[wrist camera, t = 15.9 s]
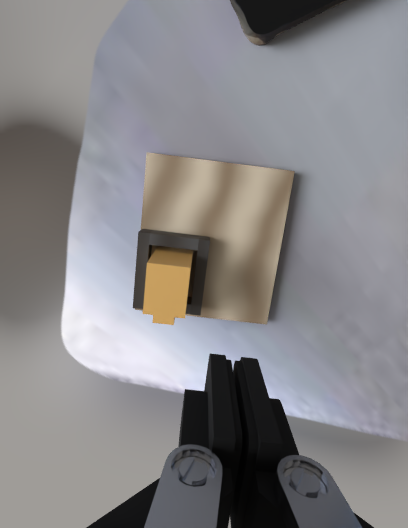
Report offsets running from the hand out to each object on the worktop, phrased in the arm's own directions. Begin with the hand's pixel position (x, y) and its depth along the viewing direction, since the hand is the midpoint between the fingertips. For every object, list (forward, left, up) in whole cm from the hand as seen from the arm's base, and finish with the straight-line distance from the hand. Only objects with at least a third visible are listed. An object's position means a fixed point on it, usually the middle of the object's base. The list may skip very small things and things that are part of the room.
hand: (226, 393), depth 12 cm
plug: (+4, +3, -28) cm, 28 cm away
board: (0, 0, -29) cm, 29 cm away
